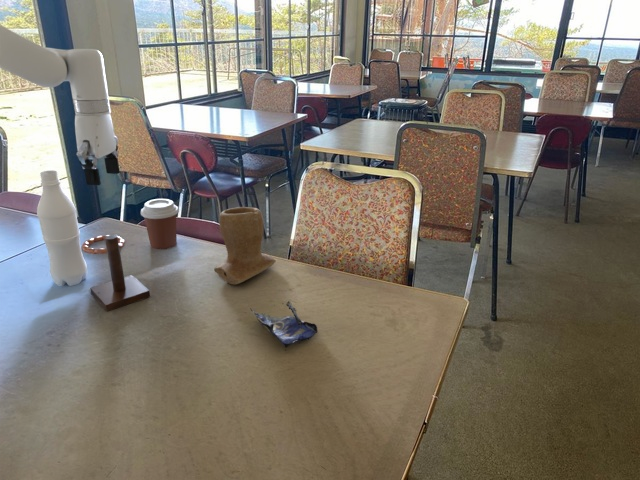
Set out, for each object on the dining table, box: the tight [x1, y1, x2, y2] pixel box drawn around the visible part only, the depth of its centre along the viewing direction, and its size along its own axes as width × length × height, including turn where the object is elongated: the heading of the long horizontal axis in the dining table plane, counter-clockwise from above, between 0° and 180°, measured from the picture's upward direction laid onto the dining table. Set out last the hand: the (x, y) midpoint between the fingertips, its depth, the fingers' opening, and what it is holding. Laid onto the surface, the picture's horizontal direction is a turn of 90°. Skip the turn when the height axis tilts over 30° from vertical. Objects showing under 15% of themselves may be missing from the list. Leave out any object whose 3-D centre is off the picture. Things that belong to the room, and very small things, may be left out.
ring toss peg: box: [89, 234, 151, 312], centre depth 99 cm, size 9×9×14 cm
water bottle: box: [36, 170, 88, 287], centre depth 101 cm, size 7×7×25 cm
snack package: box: [250, 300, 319, 352], centre depth 90 cm, size 12×6×12 cm
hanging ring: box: [81, 234, 126, 255], centre depth 122 cm, size 10×10×2 cm
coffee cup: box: [140, 198, 180, 251], centre depth 122 cm, size 9×9×12 cm
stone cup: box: [213, 206, 276, 285], centre depth 110 cm, size 15×12×15 cm
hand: (103, 178), depth 117 cm, fingers open, 9 cm apart
